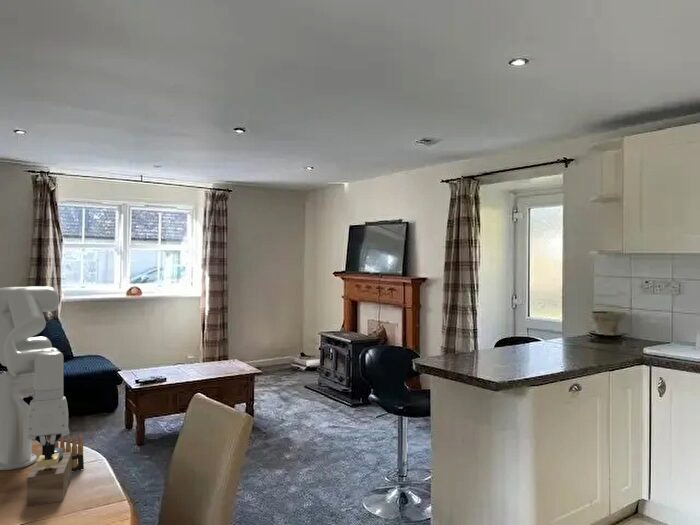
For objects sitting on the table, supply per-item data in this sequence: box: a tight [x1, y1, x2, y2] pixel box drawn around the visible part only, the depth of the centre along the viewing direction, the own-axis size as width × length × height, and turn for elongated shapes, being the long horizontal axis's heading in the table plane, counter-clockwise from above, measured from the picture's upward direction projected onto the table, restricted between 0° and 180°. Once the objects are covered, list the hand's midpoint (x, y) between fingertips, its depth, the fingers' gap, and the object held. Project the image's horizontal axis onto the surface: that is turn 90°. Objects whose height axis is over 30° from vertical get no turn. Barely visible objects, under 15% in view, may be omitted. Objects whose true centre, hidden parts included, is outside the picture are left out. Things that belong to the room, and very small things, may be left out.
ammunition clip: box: [48, 432, 85, 472], centre depth 171 cm, size 11×2×12 cm, turn 125°
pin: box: [55, 447, 63, 461], centre depth 161 cm, size 5×5×10 cm
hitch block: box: [26, 451, 73, 507], centre depth 157 cm, size 18×9×8 cm, turn 21°
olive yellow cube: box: [36, 453, 59, 471], centre depth 153 cm, size 5×5×5 cm
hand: (48, 457), depth 152 cm, fingers closed
